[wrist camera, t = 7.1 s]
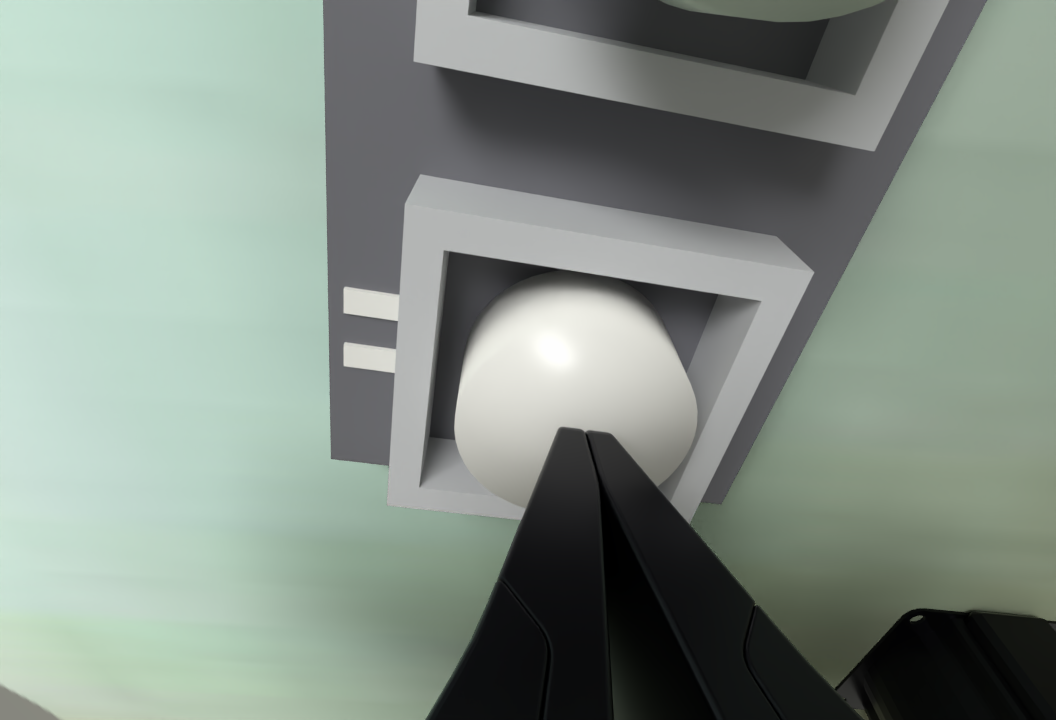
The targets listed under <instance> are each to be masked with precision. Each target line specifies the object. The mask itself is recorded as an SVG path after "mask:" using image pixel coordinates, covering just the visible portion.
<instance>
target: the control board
mask: <svg viewBox="0 0 1056 720" xmlns="http://www.w3.org/2000/svg"><path fill="white" fill-rule="evenodd" d="M986 1H987V0H885V1H883V2H881V3H879V4H877V5H874V6H872V7H869V8H865V9H862V10H859V11H856V12H853V13H849V14H846V15H843V16H839V17H833V18H827V19H821V20H815V21H810V22H773V21H765V20H757V19H749V18H741V17H733V16H725V15H716V14H709V13H701V12H694V11H688V10H684V9H681V8H678V7H675V6H671V5H668V4H666V3H664V2H662V1H660V0H323V18H324V76H325V135H326V193H327V251H328V310H329V368H330V426H331V459H336V460H345V461H353V462H362V463H370V464H379V465H388V466H389V478H388V495H387V506H396V507H405V508H414V509H423V510H433V511H442V512H451V513H460V514H469V515H479V516H488V517H497V518H506V519H516V520H521V519H522V517H523V514H524V512H525V509H526V508H523V507H520V506H517V505H515V504H512V503H510V502H508V501H506V500H504V499H502V498H500V497H498V496H497V495H495V494H494V493H492V492H491V491H489V490H488V489H487V488H485V487H484V486H483V485H482V484H481V483H479V481H478V480H477V479H476V478H475V477H474V476H473V475H472V474H471V472H470V471H469V470H468V468H467V467H466V465H465V464H464V462H463V460H462V458H461V456H460V453H459V451H458V447H457V444H456V440H455V431H454V424H455V412H456V405H457V398H458V392H459V385H460V378H461V371H462V364H463V357H464V350H465V346H466V341H467V338H468V335H469V332H470V330H471V327H472V326H473V324H474V322H475V320H476V319H477V317H478V316H479V314H480V313H481V312H482V310H483V309H484V308H485V307H486V306H487V305H488V304H489V303H490V302H491V301H492V300H493V299H494V298H495V297H496V296H497V295H499V294H500V293H501V292H503V291H504V290H506V289H507V288H509V287H511V286H512V285H514V284H516V283H518V282H520V281H522V280H525V279H527V278H530V277H532V276H536V275H539V274H543V273H547V272H554V271H561V270H571V271H577V272H584V273H590V274H596V275H602V276H609V277H613V278H616V279H618V280H620V281H622V282H624V283H626V284H628V285H630V286H631V287H633V288H634V289H636V290H637V291H638V292H640V293H641V294H642V295H643V296H644V297H645V298H646V299H647V300H648V301H650V302H651V304H652V305H653V306H654V308H655V309H656V310H657V312H658V313H659V315H660V317H661V319H662V321H663V322H664V325H665V327H666V329H667V331H668V334H669V336H670V338H671V341H672V343H673V345H674V347H675V350H676V352H677V354H678V356H679V359H680V361H681V363H682V365H683V368H684V370H685V372H686V375H687V377H688V379H689V381H690V384H691V386H692V389H693V392H694V395H695V398H696V404H697V410H698V413H697V427H696V432H695V436H694V439H693V442H692V445H691V447H690V449H689V451H688V453H687V455H686V456H685V458H684V460H683V461H682V462H681V464H680V465H679V466H678V468H677V469H676V470H675V471H674V472H673V473H672V474H671V475H670V476H669V477H668V478H667V479H666V480H665V481H664V482H662V483H661V484H660V485H659V486H658V488H659V489H660V491H661V492H662V493H663V494H664V495H665V496H666V498H667V499H668V500H669V501H670V502H671V503H672V505H673V506H674V507H675V508H676V509H677V510H678V512H679V513H680V514H681V515H682V516H683V517H684V519H685V520H686V521H687V522H688V523H689V524H690V522H691V520H692V518H693V516H694V514H695V512H696V510H697V508H698V506H699V504H700V502H706V503H715V504H722V502H723V500H724V498H725V496H726V494H727V492H728V491H729V489H730V487H731V485H732V483H733V481H734V479H735V477H736V475H737V474H738V472H739V470H740V468H741V466H742V464H743V462H744V460H745V458H746V456H747V455H748V453H749V451H750V449H751V447H752V445H753V443H754V441H755V439H756V438H757V436H758V434H759V432H760V430H761V428H762V426H763V424H764V422H765V420H766V419H767V417H768V415H769V413H770V411H771V409H772V407H773V405H774V403H775V401H776V400H777V398H778V396H779V394H780V392H781V390H782V388H783V386H784V384H785V383H786V381H787V379H788V377H789V375H790V373H791V371H792V369H793V367H794V365H795V364H796V362H797V360H798V358H799V356H800V354H801V352H802V350H803V348H804V347H805V345H806V343H807V341H808V339H809V337H810V335H811V333H812V331H813V329H814V328H815V326H816V324H817V322H818V320H819V318H820V316H821V314H822V312H823V310H824V309H825V307H826V305H827V303H828V301H829V299H830V297H831V295H832V293H833V292H834V290H835V288H836V286H837V284H838V282H839V280H840V278H841V276H842V274H843V273H844V271H845V269H846V267H847V265H848V263H849V261H850V259H851V257H852V256H853V254H854V252H855V250H856V248H857V246H858V244H859V242H860V240H861V238H862V237H863V235H864V233H865V231H866V229H867V227H868V225H869V223H870V221H871V219H872V218H873V216H874V214H875V212H876V210H877V208H878V206H879V204H880V202H881V201H882V199H883V197H884V195H885V193H886V191H887V189H888V187H889V185H890V183H891V182H892V180H893V178H894V176H895V174H896V172H897V170H898V168H899V166H900V165H901V163H902V161H903V159H904V157H905V155H906V153H907V151H908V149H909V147H910V146H911V144H912V142H913V140H914V138H915V136H916V134H917V132H918V130H919V128H920V127H921V125H922V123H923V121H924V119H925V117H926V115H927V113H928V111H929V110H930V108H931V106H932V104H933V102H934V100H935V98H936V96H937V94H938V92H939V91H940V89H941V87H942V85H943V83H944V81H945V79H946V77H947V75H948V73H949V72H950V70H951V68H952V66H953V64H954V62H955V60H956V58H957V56H958V55H959V53H960V51H961V49H962V47H963V45H964V43H965V41H966V39H967V37H968V36H969V34H970V32H971V30H972V28H973V26H974V24H975V22H976V20H977V19H978V17H979V15H980V13H981V11H982V9H983V7H984V5H985V3H986Z"/></svg>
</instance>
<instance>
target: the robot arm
mask: <svg viewBox="0 0 1056 720" xmlns="http://www.w3.org/2000/svg"><path fill="white" fill-rule="evenodd" d="M754 605H755V601H754V599H753V598H752V597H751V596H750V595H749V594H748V592H747V591H746V590H745V589H744V588H743V587H742V585H741V584H740V583H739V582H738V581H737V580H736V578H735V577H734V576H733V575H732V574H731V572H730V571H729V570H728V569H727V568H726V567H725V565H724V564H723V563H722V562H721V561H720V560H719V558H718V557H717V556H716V555H715V554H714V553H713V551H712V550H711V549H710V548H709V547H708V546H707V544H706V543H705V542H704V541H703V540H702V539H701V537H700V536H699V535H698V534H697V533H696V532H695V530H694V529H693V528H692V527H691V526H690V524H689V523H688V522H687V521H686V520H685V519H684V517H683V516H682V515H681V514H680V513H679V512H678V510H677V509H676V508H675V507H674V506H673V505H672V503H671V502H670V501H669V500H668V499H667V498H666V496H665V495H664V494H663V493H662V492H661V491H660V489H659V488H658V487H657V486H656V485H655V484H654V482H653V481H652V480H651V479H650V478H649V476H648V475H647V474H646V473H645V472H644V471H643V469H642V468H641V467H640V466H639V465H638V464H637V462H636V461H635V460H634V459H633V458H632V457H631V455H630V454H629V453H628V452H627V451H626V450H625V448H624V447H623V446H622V445H621V444H620V443H619V441H618V440H617V439H616V438H615V437H614V436H613V435H612V434H611V433H608V432H602V431H594V430H588V431H586V432H585V431H583V430H582V429H578V428H570V427H559V428H558V430H557V432H556V435H555V437H554V440H553V442H552V445H551V447H550V450H549V452H548V455H547V457H546V460H545V462H544V465H543V467H542V470H541V472H540V474H539V477H538V479H537V482H536V484H535V487H534V489H533V492H532V494H531V497H530V499H529V502H528V504H527V507H526V509H525V512H524V514H523V517H522V519H521V522H520V524H519V527H518V529H517V532H516V534H515V537H514V539H513V542H512V544H511V547H510V549H509V551H508V554H507V556H506V559H505V561H504V564H503V566H502V569H501V571H500V574H499V576H498V580H497V582H496V583H495V585H494V588H493V590H492V593H491V595H490V598H489V600H488V603H487V605H486V608H485V610H484V612H483V614H482V616H481V619H480V621H479V623H478V625H477V627H476V630H475V632H474V634H473V636H472V639H471V641H470V642H469V644H468V646H467V648H466V650H465V652H464V653H463V655H462V657H461V659H460V661H459V663H458V664H457V666H456V668H455V670H454V672H453V674H452V675H451V677H450V679H449V681H448V682H447V684H446V686H445V687H444V689H443V691H442V693H441V694H440V696H439V698H438V699H437V701H436V703H435V704H434V706H433V708H432V710H431V711H430V713H429V715H428V716H427V718H426V720H864V719H863V718H862V717H861V716H860V715H859V714H858V713H857V712H856V711H855V710H854V709H864V710H865V711H866V713H867V715H868V717H869V720H1056V621H1046V620H1045V619H1042V618H1038V617H1033V616H1023V615H1013V614H1003V613H993V612H983V611H972V612H971V613H965V612H955V611H944V610H934V609H915V610H911V611H909V612H907V613H905V614H904V615H903V616H902V617H901V618H900V619H899V620H898V621H897V622H896V623H895V624H894V625H893V627H892V628H891V629H890V630H889V631H888V632H887V633H886V634H885V635H884V636H883V637H882V638H881V640H880V641H879V642H878V643H877V644H876V645H875V646H874V647H873V648H872V649H871V650H870V651H869V652H868V654H867V655H866V656H865V657H864V658H863V659H862V660H861V661H860V662H859V663H858V664H857V665H856V667H855V668H854V669H853V670H852V671H851V672H850V673H849V674H848V675H847V676H846V677H845V678H844V680H843V681H842V682H841V683H840V684H839V685H838V686H837V687H836V688H835V689H834V688H833V687H832V686H831V685H830V684H829V683H828V682H827V681H826V680H825V679H824V678H823V677H822V676H821V675H820V674H819V673H818V672H817V671H816V670H815V669H814V667H813V666H812V665H811V664H810V663H809V662H808V661H807V660H806V659H805V658H804V656H803V655H802V654H801V653H800V652H799V651H798V650H797V649H796V647H795V646H794V645H793V644H792V643H791V642H790V641H789V640H788V638H787V637H786V636H785V635H784V634H783V633H782V632H781V631H780V630H779V628H778V627H777V626H776V625H775V624H774V623H773V621H772V620H771V619H770V618H769V617H768V616H767V614H766V613H765V612H764V611H763V610H762V608H761V607H760V606H758V605H756V606H754ZM919 615H922V616H924V617H923V618H922V619H920V620H918V621H910V619H911V618H913V617H915V616H919ZM843 698H845V699H843Z"/></svg>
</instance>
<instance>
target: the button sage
mask: <svg viewBox="0 0 1056 720" xmlns="http://www.w3.org/2000/svg"><path fill="white" fill-rule="evenodd" d="M660 1H662V2H664V3H666V4H668V5H671V6H675V7H678V8H681V9H684V10H688V11H694V12H701V13H709V14H716V15H725V16H733V17H741V18H749V19H757V20H765V21H773V22H810V21H815V20H821V19H827V18H833V17H839V16H843V15H846V14H849V13H853V12H856V11H859V10H862V9H865V8H869V7H872V6H874V5H877V4H879V3H881V2H883V1H885V0H660Z"/></svg>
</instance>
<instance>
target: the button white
mask: <svg viewBox="0 0 1056 720" xmlns="http://www.w3.org/2000/svg"><path fill="white" fill-rule="evenodd" d="M697 413H698V410H697V404H696V398H695V395H694V392H693V389H692V386H691V384H690V381H689V379H688V377H687V375H686V372H685V370H684V368H683V365H682V363H681V361H680V359H679V356H678V354H677V352H676V350H675V347H674V345H673V343H672V341H671V338H670V336H669V334H668V331H667V329H666V327H665V325H664V322H663V321H662V319H661V317H660V315H659V313H658V312H657V310H656V309H655V308H654V306H653V305H652V304H651V302H650V301H648V300H647V299H646V298H645V297H644V296H643V295H642V294H641V293H640V292H638V291H637V290H636V289H634V288H633V287H631V286H630V285H628V284H626V283H624V282H622V281H620V280H618V279H616V278H613V277H609V276H602V275H596V274H590V273H584V272H577V271H571V270H561V271H554V272H547V273H543V274H539V275H536V276H532V277H530V278H527V279H525V280H522V281H520V282H518V283H516V284H514V285H512V286H511V287H509V288H507V289H506V290H504V291H503V292H501V293H500V294H499V295H497V296H496V297H495V298H494V299H493V300H492V301H491V302H490V303H489V304H488V305H487V306H486V307H485V308H484V309H483V310H482V312H481V313H480V314H479V316H478V317H477V319H476V320H475V322H474V324H473V326H472V327H471V330H470V332H469V335H468V338H467V341H466V346H465V350H464V357H463V364H462V371H461V378H460V385H459V392H458V398H457V405H456V412H455V424H454V431H455V440H456V444H457V447H458V451H459V453H460V456H461V458H462V460H463V462H464V464H465V465H466V467H467V468H468V470H469V471H470V472H471V474H472V475H473V476H474V477H475V478H476V479H477V480H478V481H479V483H481V484H482V485H483V486H484V487H485V488H487V489H488V490H489V491H491V492H492V493H494V494H495V495H497V496H498V497H500V498H502V499H504V500H506V501H508V502H510V503H512V504H515V505H517V506H520V507H523V508H526V507H527V504H528V502H529V499H530V497H531V494H532V492H533V489H534V487H535V484H536V482H537V479H538V477H539V474H540V472H541V470H542V467H543V465H544V462H545V460H546V457H547V455H548V452H549V450H550V447H551V445H552V442H553V440H554V437H555V435H556V432H557V430H558V428H559V427H570V428H578V429H582V430H583V431H585V432H586V431H588V430H594V431H602V432H608V433H611V434H612V435H613V436H614V437H615V438H616V439H617V440H618V441H619V443H620V444H621V445H622V446H623V447H624V448H625V450H626V451H627V452H628V453H629V454H630V455H631V457H632V458H633V459H634V460H635V461H636V462H637V464H638V465H639V466H640V467H641V468H642V469H643V471H644V472H645V473H646V474H647V475H648V476H649V478H650V479H651V480H652V481H653V482H654V484H655V485H656V486H657V487H658V486H659V485H660V484H661V483H662V482H664V481H665V480H666V479H667V478H668V477H669V476H670V475H671V474H672V473H673V472H674V471H675V470H676V469H677V468H678V466H679V465H680V464H681V462H682V461H683V460H684V458H685V456H686V455H687V453H688V451H689V449H690V447H691V445H692V442H693V439H694V436H695V432H696V427H697Z"/></svg>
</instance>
